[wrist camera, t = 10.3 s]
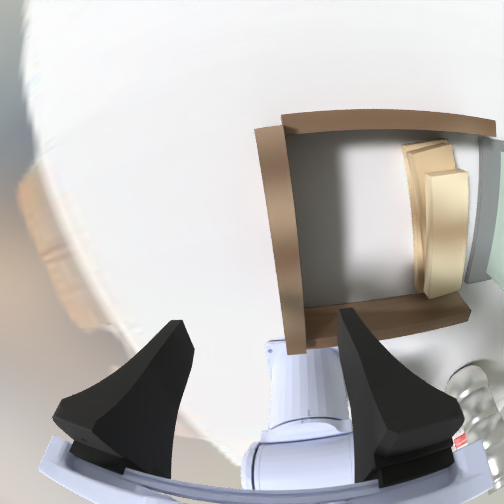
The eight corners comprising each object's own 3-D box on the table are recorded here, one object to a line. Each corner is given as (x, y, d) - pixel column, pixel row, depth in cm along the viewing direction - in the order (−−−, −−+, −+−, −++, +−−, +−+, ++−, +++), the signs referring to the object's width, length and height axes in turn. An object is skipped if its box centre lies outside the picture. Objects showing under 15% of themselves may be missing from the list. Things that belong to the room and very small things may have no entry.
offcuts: (449, 274, 22) (466, 295, 18) (412, 286, 22) (426, 309, 19) (442, 137, 16) (467, 142, 13) (398, 144, 17) (419, 149, 14)
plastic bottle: (455, 361, 26) (501, 487, 8) (486, 356, 26) (534, 464, 8) (434, 391, 29) (466, 506, 11) (466, 384, 29) (501, 487, 11)
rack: (450, 296, 22) (472, 327, 18) (287, 320, 25) (287, 360, 20) (465, 117, 15) (503, 121, 10) (259, 119, 18) (252, 118, 13)
